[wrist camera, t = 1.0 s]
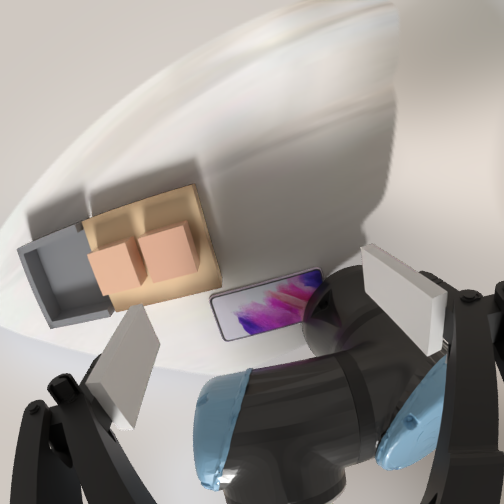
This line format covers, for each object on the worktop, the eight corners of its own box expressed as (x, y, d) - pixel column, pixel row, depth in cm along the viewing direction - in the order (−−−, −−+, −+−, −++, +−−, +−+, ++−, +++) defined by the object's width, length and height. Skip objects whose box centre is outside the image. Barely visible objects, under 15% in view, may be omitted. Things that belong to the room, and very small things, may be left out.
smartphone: (207, 297, 37) (321, 266, 37) (207, 294, 38) (319, 264, 37) (223, 343, 39) (330, 314, 39) (223, 340, 39) (328, 311, 39)
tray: (120, 302, 36) (110, 316, 33) (62, 315, 36) (50, 328, 33) (89, 218, 33) (74, 224, 29) (32, 241, 33) (16, 249, 29)
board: (222, 277, 36) (221, 287, 34) (123, 302, 36) (116, 312, 34) (194, 183, 33) (191, 184, 30) (92, 217, 33) (81, 221, 30)
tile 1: (147, 276, 33) (140, 286, 30) (112, 285, 32) (103, 296, 30) (133, 235, 31) (124, 242, 28) (97, 247, 31) (86, 254, 28)
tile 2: (200, 262, 33) (197, 272, 30) (159, 273, 33) (153, 283, 30) (187, 220, 31) (183, 225, 28) (145, 232, 31) (137, 238, 28)
